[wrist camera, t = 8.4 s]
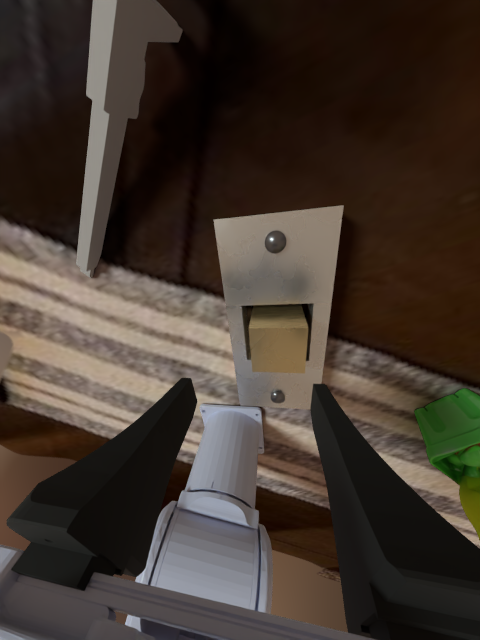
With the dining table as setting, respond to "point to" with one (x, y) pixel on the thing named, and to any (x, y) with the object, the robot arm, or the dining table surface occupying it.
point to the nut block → (278, 338)
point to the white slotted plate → (279, 292)
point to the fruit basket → (456, 444)
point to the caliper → (114, 104)
